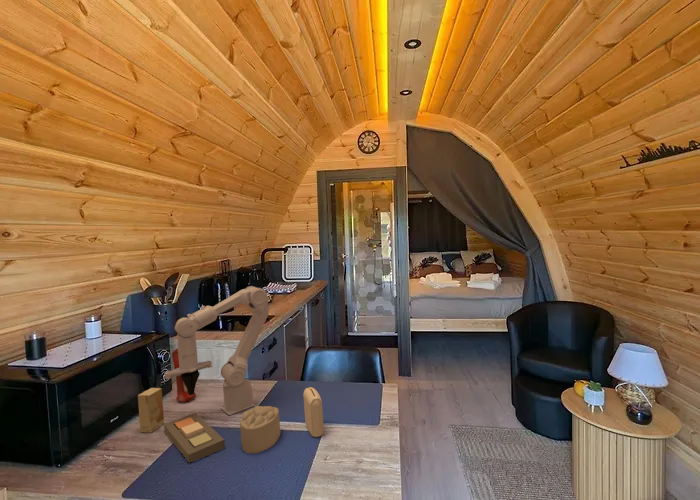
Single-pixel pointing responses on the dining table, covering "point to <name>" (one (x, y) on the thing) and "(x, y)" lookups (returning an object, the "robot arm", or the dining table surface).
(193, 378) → the robot arm
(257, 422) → the lumpy-topped squat cylinder
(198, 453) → the keypad base
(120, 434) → the dining table surface
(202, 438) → the sage key
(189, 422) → the terracotta key
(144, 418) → the skincare box
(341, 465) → the dining table surface
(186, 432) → the cream key
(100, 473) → the dining table surface
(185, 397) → the liquor
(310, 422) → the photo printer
